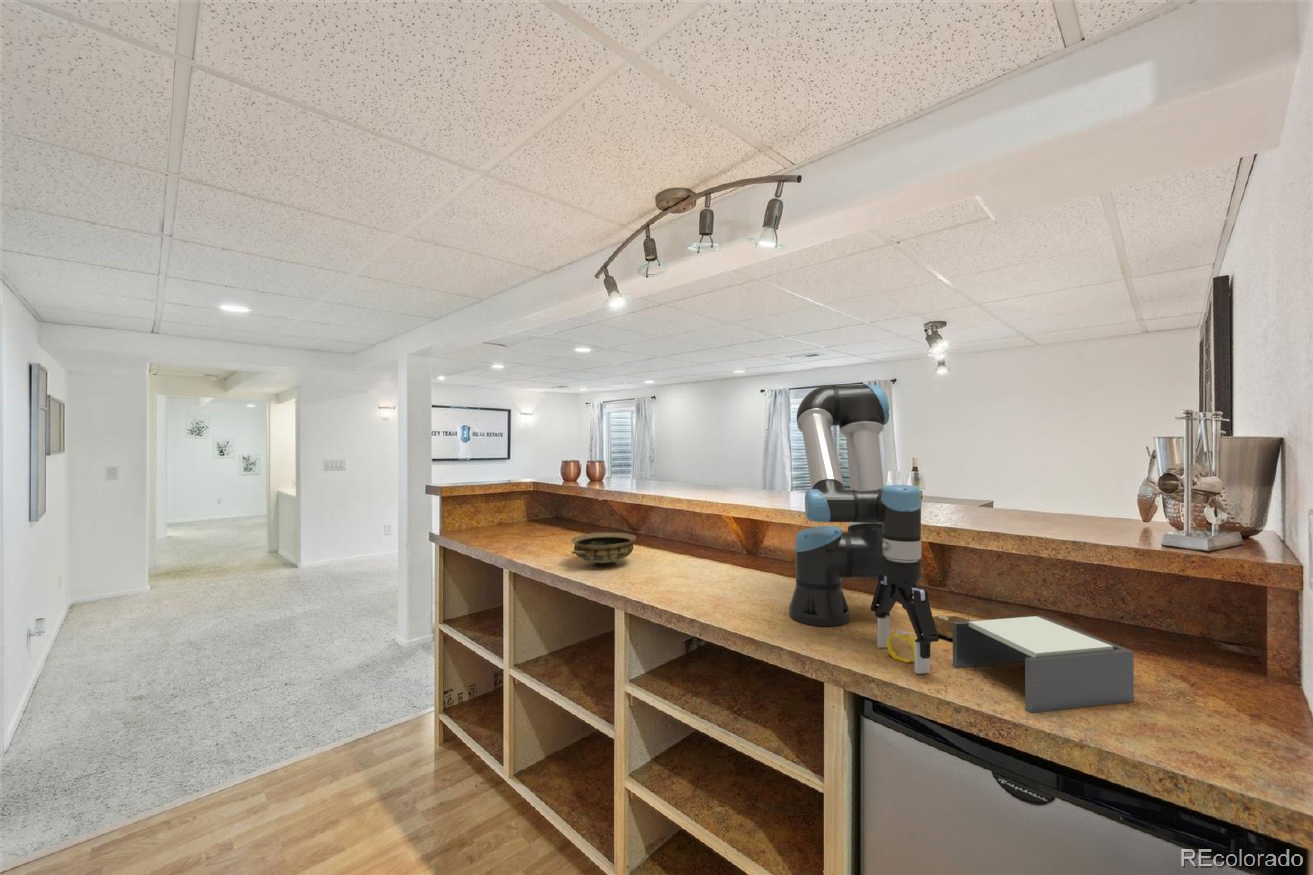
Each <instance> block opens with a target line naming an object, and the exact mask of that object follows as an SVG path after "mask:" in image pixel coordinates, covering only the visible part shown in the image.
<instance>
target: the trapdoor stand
mask: <svg viewBox="0 0 1313 875" xmlns="http://www.w3.org/2000/svg"><path fill="white" fill-rule="evenodd" d="M1034 616H1035V615H1030V616H1029V615H1028V616H1026V617H1034ZM1036 616H1037V617H1040V618H1042V619H1045V620H1047V621H1050V622H1052V623H1055V624H1057V625H1060V626H1063V627H1065V628H1068V629H1070V630H1073V631H1075V632H1078V633H1080V634H1083V635H1086V636H1088V637H1091V638H1093V639H1096V640H1098V641H1101V642H1103V643H1106V644H1109V645H1111V646H1113V650H1107V651H1096V652H1085V653H1074V654H1063V655H1052V656H1041V657H1031V656H1029V655H1027V654H1025V653H1023V652H1021V651H1019V650H1017V649H1015V648H1012V647H1010V646H1008V645H1006V644H1004V643H1002V642H1000V641H998V640H996V639H994V638H992V637H990V636H988V635H986V634H983V633H981V632H979V631H977V630H975V629H973V628H971V627H969V621H962V622H953V639H952V666H953V667H955V668H956V669H961V668H970V667H973V668H974V667H981V666H982V667H983V666H992V665H1002V664H1003V665H1006V664H1013V663H1015V664H1016V663H1024V678H1025V679H1024V680H1025V683H1024V692H1025V693H1024V694H1025V695H1024V696H1025V697H1024V698H1025V699H1024V700H1025V701H1024V702H1025V703H1024V704H1025V705H1024V706H1025V710H1026V711H1028V712H1029V713H1032V714H1033V713H1040V712H1041V713H1043V712H1051V711H1059V710H1068V709H1069V710H1070V709H1077V708H1086V707H1087V708H1088V707H1095V706H1097V707H1098V706H1104V705H1105V706H1106V705H1107V706H1108V705H1115V704H1124V703H1132V702H1134V698H1135V697H1134V695H1135V694H1134V691H1135V690H1134V688H1135V687H1134V681H1135V680H1134V678H1135V676H1134V674H1135V673H1134V668H1135V666H1134V665H1135V664H1134V662H1135V661H1134V658H1135V657H1134V652H1135V651H1133V650H1131V649H1129V648H1126V647H1123V646H1121V645H1118V644H1116V643H1112V642H1110V641H1109V640H1106V639H1102V638H1100V637H1098V636H1094V635H1092V634H1090V633H1088V632H1087V633H1086V632H1085V631H1081V630H1079V629H1077V628H1074V627H1071V626H1069V625H1067V624H1063V623H1061V622H1058V621H1056V620H1053V619H1052V618H1051V619H1050V618H1049V617H1046V616H1043V615H1036ZM1021 617H1022V616H1017V617H1013V618H1021ZM1008 618H1009V617H1004V618H1003V617H1002V618H1000V619H1008ZM995 619H996V618H992V619H991V618H989V619H987V620H995ZM982 620H983V619H977V620H975V619H974V621H982Z"/></svg>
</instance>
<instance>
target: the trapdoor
mask: <svg viewBox="0 0 1313 875" xmlns="http://www.w3.org/2000/svg"><path fill="white" fill-rule="evenodd" d="M1033 616H1034V617H1027V616H1020V617H1021V618H1014V617H1007V618H1008V619H1001V618H994V619H995V620H988V619H981V620H982V621H975V620H972V621H969V627H971V628H973V629H975V630H977V631H979V632H981V633H983V634H986V635H988V636H990V637H992V638H994V639H996V640H998V641H1000V642H1002V643H1004V644H1006V645H1008V646H1010V647H1012V648H1015V649H1017V650H1019V651H1021V652H1023V653H1025V654H1027V655H1029V656H1031V657H1041V656H1052V655H1063V654H1074V653H1085V652H1096V651H1107V650H1113V646H1111V645H1109V644H1106V643H1103V642H1101V641H1098V640H1096V639H1093V638H1091V637H1088V636H1086V635H1083V634H1080V633H1078V632H1075V631H1073V630H1070V629H1068V628H1065V627H1063V626H1060V625H1057V624H1055V623H1052V622H1050V621H1047V620H1045V619H1042V618H1040V617H1037V616H1038V615H1033Z"/></svg>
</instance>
